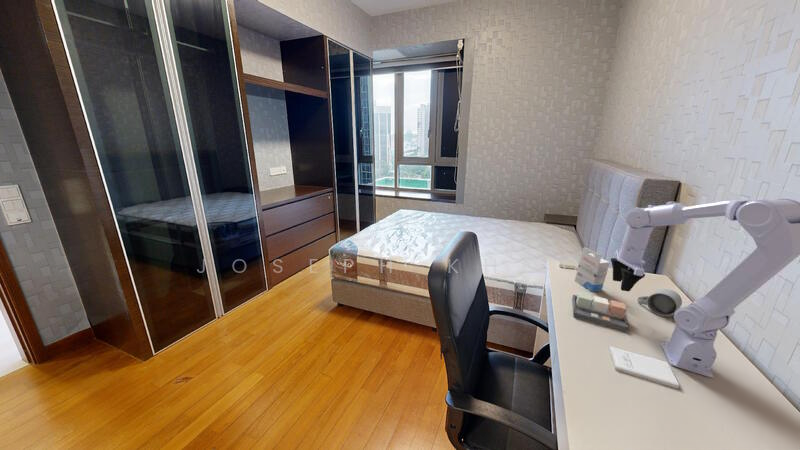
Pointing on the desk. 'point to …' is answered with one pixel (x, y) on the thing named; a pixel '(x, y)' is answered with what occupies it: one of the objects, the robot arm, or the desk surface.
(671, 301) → the ceramic mug
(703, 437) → the desk surface
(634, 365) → the external hard drive
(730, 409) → the desk surface
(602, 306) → the key cream
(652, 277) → the desk surface
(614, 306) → the key terracotta
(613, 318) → the keypad
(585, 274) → the ink box
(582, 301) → the key sage
